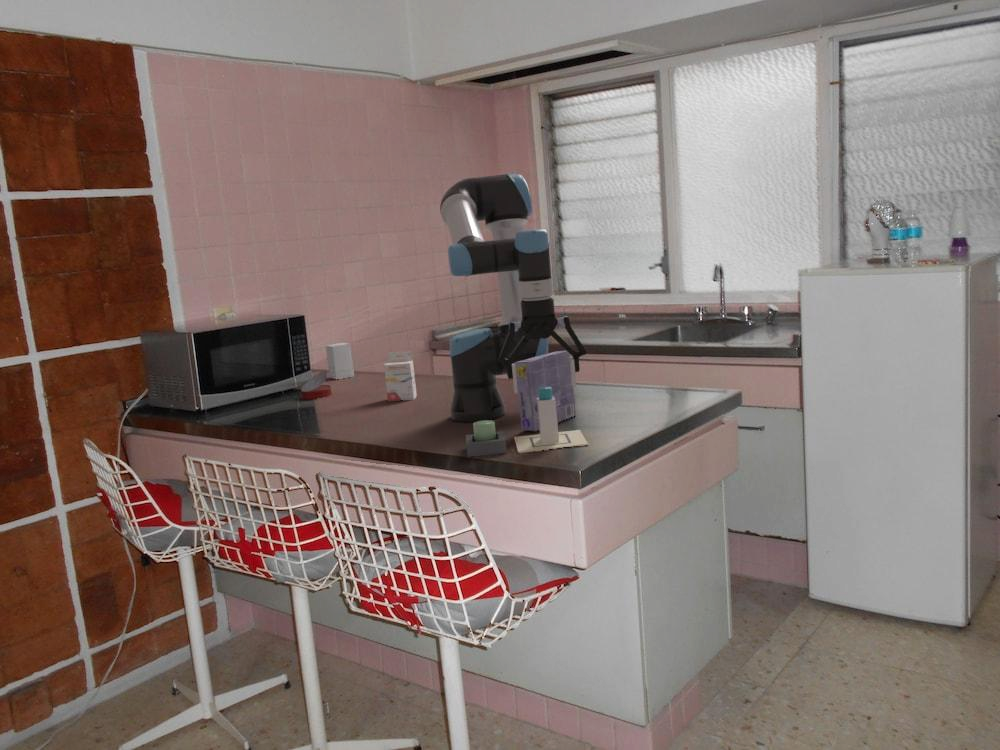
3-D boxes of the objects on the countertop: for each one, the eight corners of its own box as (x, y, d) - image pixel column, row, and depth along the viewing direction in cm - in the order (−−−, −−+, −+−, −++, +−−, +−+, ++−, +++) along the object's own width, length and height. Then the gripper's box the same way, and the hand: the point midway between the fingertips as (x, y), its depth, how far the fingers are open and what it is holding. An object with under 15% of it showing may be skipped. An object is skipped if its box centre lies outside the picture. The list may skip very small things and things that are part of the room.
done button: (474, 440, 210) (472, 421, 209) (495, 438, 210) (494, 419, 209) (475, 445, 205) (473, 426, 204) (496, 443, 205) (494, 424, 204)
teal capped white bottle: (540, 439, 211) (535, 387, 209) (557, 437, 211) (552, 385, 209) (542, 443, 207) (537, 390, 205) (559, 441, 207) (554, 388, 205)
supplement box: (355, 376, 333) (350, 343, 331) (336, 380, 329) (331, 346, 327) (347, 374, 339) (343, 342, 337) (329, 378, 336) (324, 345, 333)
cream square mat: (514, 438, 216) (514, 436, 216) (580, 431, 216) (579, 429, 216) (518, 453, 202) (518, 451, 202) (588, 445, 202) (588, 443, 202)
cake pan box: (563, 414, 237) (558, 348, 234) (579, 415, 234) (573, 348, 230) (519, 431, 222) (512, 361, 219) (535, 433, 219) (528, 362, 216)
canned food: (330, 410, 298) (326, 387, 291) (300, 410, 298) (295, 387, 292) (335, 389, 307) (332, 366, 300) (306, 389, 307) (302, 366, 301)
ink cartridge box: (387, 402, 278) (381, 355, 275) (390, 398, 283) (385, 352, 280) (414, 399, 277) (408, 353, 274) (417, 396, 282) (412, 350, 279)
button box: (467, 447, 212) (465, 435, 211) (504, 443, 212) (503, 430, 212) (467, 457, 203) (466, 444, 203) (506, 452, 203) (505, 440, 203)
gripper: (482, 305, 199) (492, 398, 203) (593, 294, 200) (600, 386, 204) (481, 301, 207) (490, 391, 211) (588, 290, 207) (595, 380, 211)
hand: (544, 389), depth 207 cm, fingers open, 13 cm apart
